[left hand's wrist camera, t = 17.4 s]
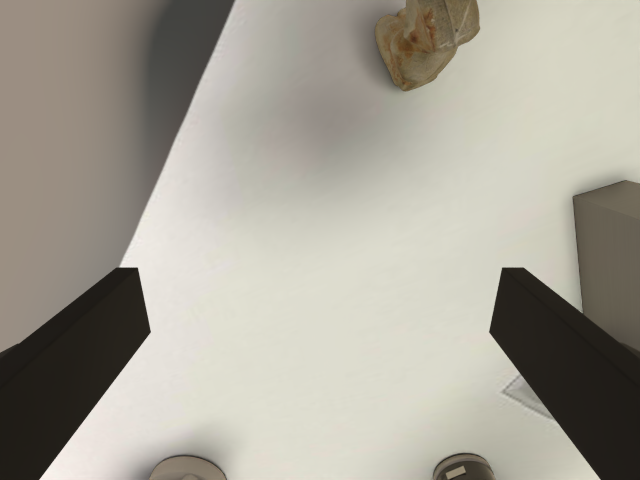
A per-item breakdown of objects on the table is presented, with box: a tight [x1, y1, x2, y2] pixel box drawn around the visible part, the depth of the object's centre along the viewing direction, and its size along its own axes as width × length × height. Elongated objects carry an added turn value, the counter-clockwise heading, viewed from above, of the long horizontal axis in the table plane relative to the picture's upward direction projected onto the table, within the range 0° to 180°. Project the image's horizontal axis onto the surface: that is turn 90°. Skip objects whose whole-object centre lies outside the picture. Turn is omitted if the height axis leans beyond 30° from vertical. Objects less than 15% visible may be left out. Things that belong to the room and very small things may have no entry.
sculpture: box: [375, 0, 480, 91], centre depth 29 cm, size 6×7×15 cm
